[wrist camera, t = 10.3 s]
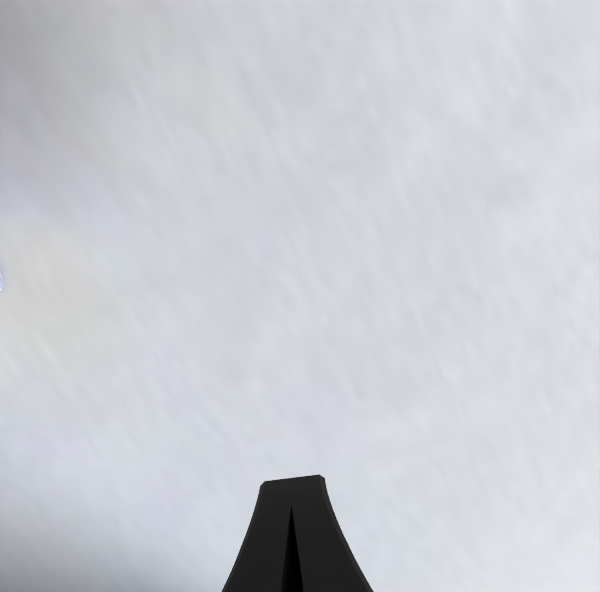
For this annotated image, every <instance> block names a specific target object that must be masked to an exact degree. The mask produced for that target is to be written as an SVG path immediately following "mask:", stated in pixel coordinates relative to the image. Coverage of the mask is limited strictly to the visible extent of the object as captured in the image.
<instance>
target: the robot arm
mask: <svg viewBox="0 0 600 592" xmlns="http://www.w3.org/2000/svg"><path fill="white" fill-rule="evenodd" d="M3 285H4V284H3V279H2V276H1V274H0V291H1V290H2V288H3ZM222 592H373V590H372V589H371V587H370V585H369V583H368V582H367V580H366V578H365V576H364V574H363V573H362V571H361V569H360V567H359V565H358V563H357V562H356V560H355V558H354V556H353V554H352V552H351V550H350V547H349V545H348V543H347V541H346V539H345V537H344V535H343V533H342V531H341V528H340V526H339V524H338V521H337V519H336V516H335V514H334V511H333V508H332V506H331V503H330V500H329V496H328V493H327V488H326V484H325V478H324V477H322V476H321V475H312V476H304V477H296V478H288V479H280V480H272V481H265V482H264V483H263V484H262V485H261V486H260V490H259V495H258V499H257V502H256V506H255V509H254V513H253V516H252V519H251V522H250V525H249V527H248V530H247V533H246V536H245V538H244V541H243V544H242V546H241V549H240V551H239V554H238V556H237V559H236V561H235V564H234V566H233V568H232V571H231V573H230V575H229V577H228V579H227V582H226V584H225V586H224V588H223V590H222Z"/></svg>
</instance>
